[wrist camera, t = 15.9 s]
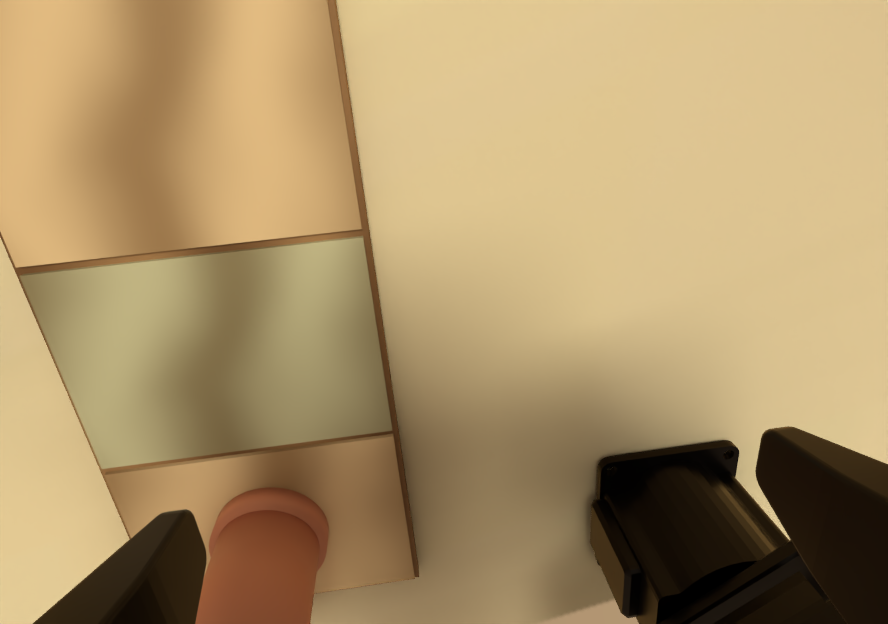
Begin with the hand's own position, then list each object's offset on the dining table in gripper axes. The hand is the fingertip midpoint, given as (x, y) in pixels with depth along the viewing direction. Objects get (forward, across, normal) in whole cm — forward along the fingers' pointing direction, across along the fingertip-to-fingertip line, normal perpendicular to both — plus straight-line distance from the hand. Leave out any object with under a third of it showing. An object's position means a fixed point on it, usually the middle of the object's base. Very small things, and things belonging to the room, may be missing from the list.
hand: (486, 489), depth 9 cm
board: (+13, +8, +3) cm, 16 cm away
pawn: (+12, +8, +12) cm, 19 cm away
